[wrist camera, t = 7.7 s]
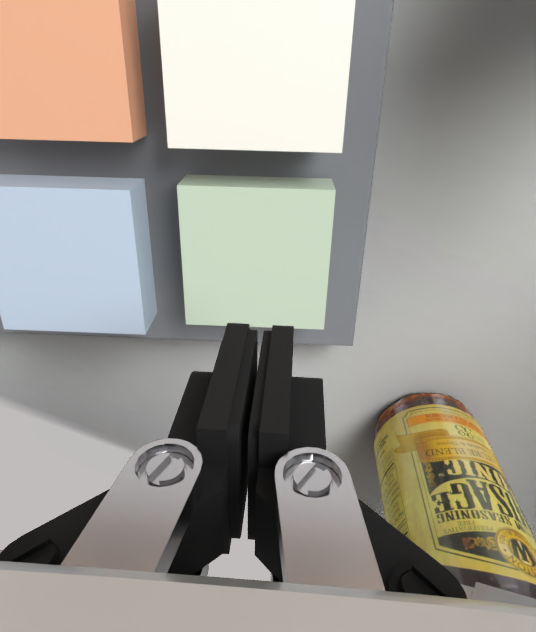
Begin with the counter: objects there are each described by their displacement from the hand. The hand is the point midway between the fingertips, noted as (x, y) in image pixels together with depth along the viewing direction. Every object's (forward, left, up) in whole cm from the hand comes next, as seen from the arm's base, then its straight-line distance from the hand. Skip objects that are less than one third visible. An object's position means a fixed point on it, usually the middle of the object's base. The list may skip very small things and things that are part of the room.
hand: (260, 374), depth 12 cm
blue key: (+8, 0, -9) cm, 12 cm away
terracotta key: (+8, -7, -10) cm, 15 cm away
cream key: (+1, -7, -9) cm, 12 cm away
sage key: (+1, 0, -10) cm, 10 cm away
